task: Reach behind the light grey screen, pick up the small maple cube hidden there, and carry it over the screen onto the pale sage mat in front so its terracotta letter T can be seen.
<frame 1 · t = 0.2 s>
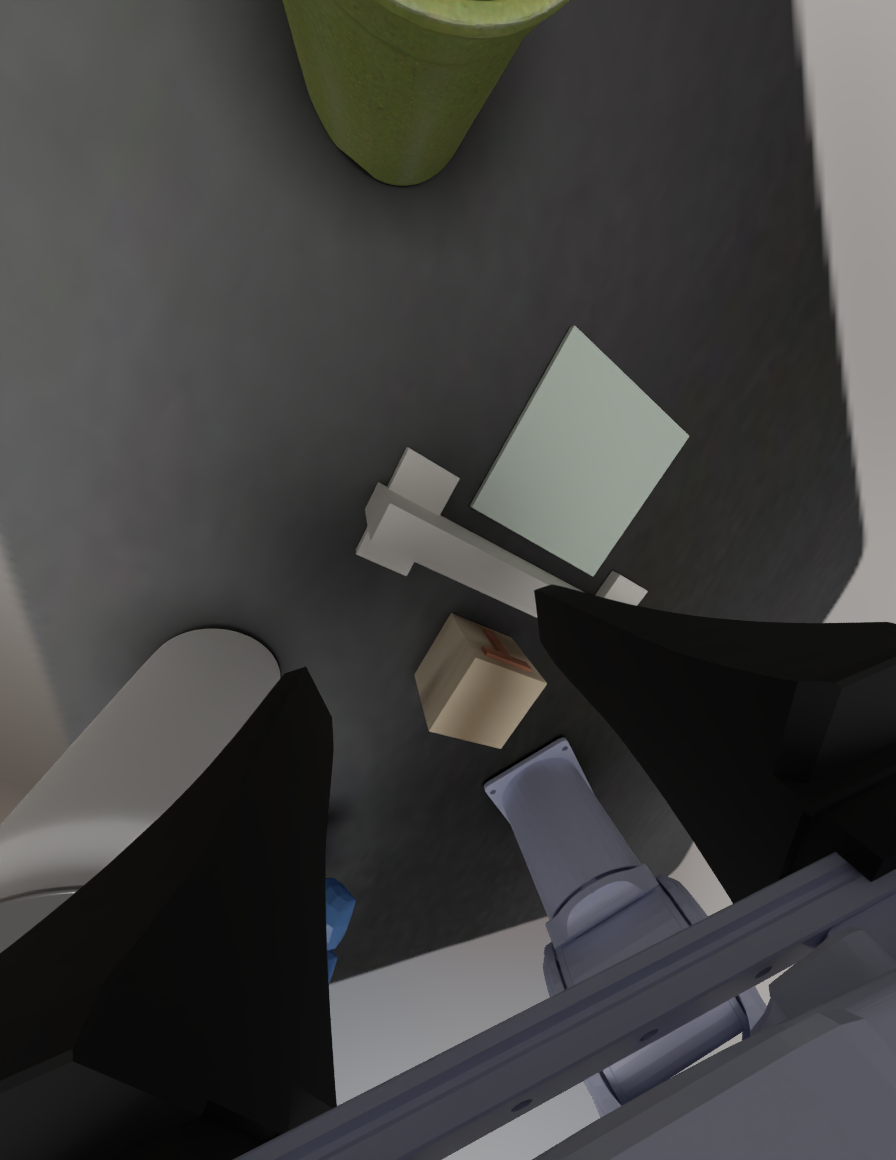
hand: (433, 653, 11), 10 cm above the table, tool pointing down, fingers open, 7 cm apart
can: (221, 671, 20), on the table
plant pot: (387, 77, 13), on the table
maple cube: (463, 655, 24), on the table
grapes: (310, 821, 26), on the table
sage mat: (581, 469, 20), on the table
grey screen: (517, 570, 22), on the table
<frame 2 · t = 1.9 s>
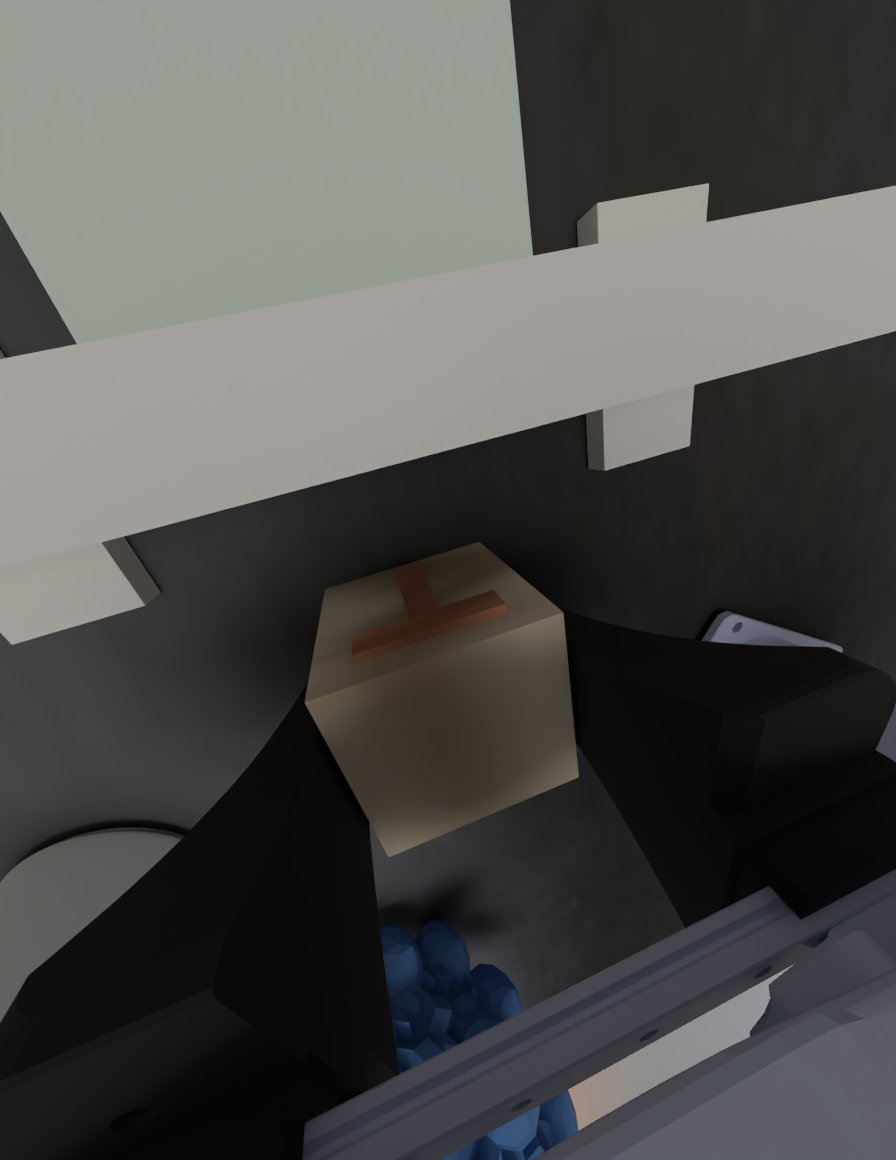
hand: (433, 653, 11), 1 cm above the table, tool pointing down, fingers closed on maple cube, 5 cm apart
can: (127, 874, 13), on the table
maple cube: (424, 629, 12), on the table, touching gripper
grapes: (439, 905, 19), on the table
grey screen: (359, 415, 9), on the table
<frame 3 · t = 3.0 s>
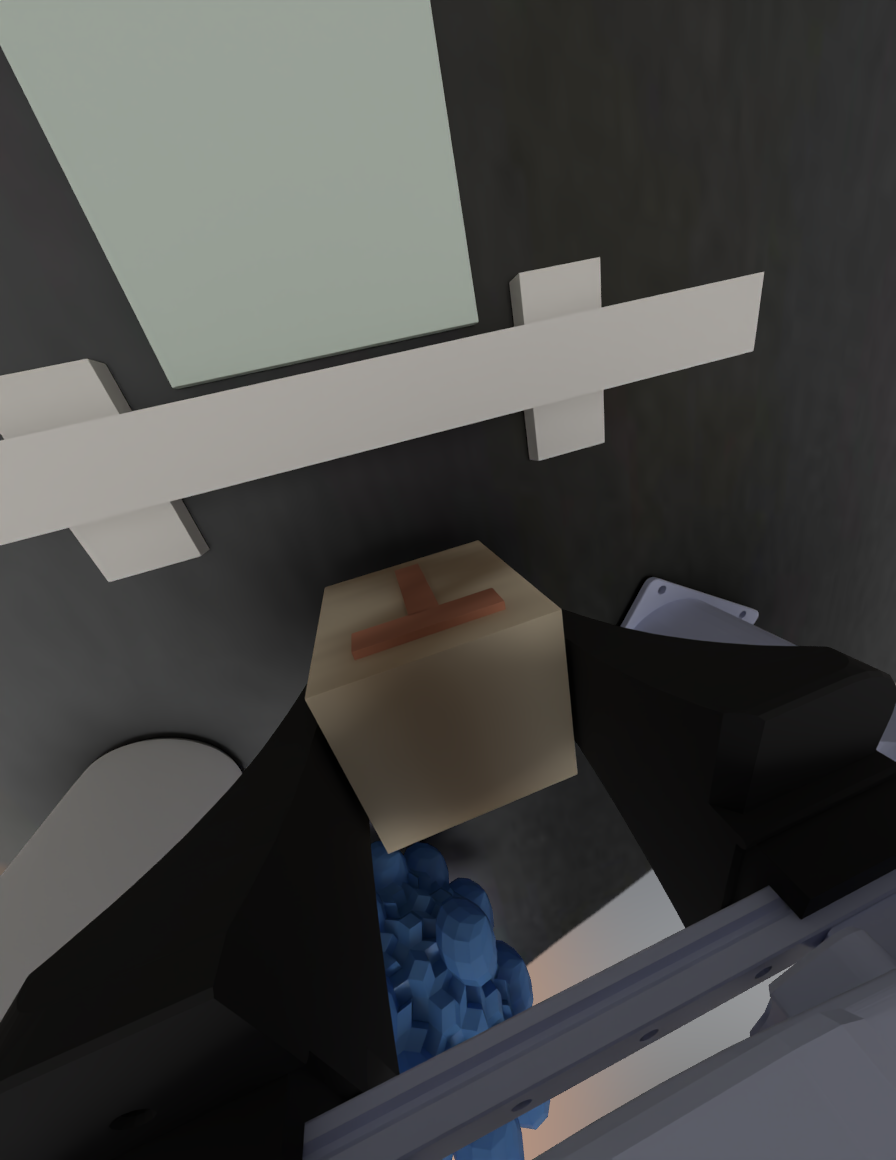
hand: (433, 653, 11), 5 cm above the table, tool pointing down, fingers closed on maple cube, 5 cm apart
can: (172, 781, 16), on the table
maple cube: (423, 628, 12), point 4 cm above the table, touching gripper
grapes: (423, 831, 22), on the table
sage mat: (269, 143, 9), on the table
grey screen: (354, 420, 12), on the table
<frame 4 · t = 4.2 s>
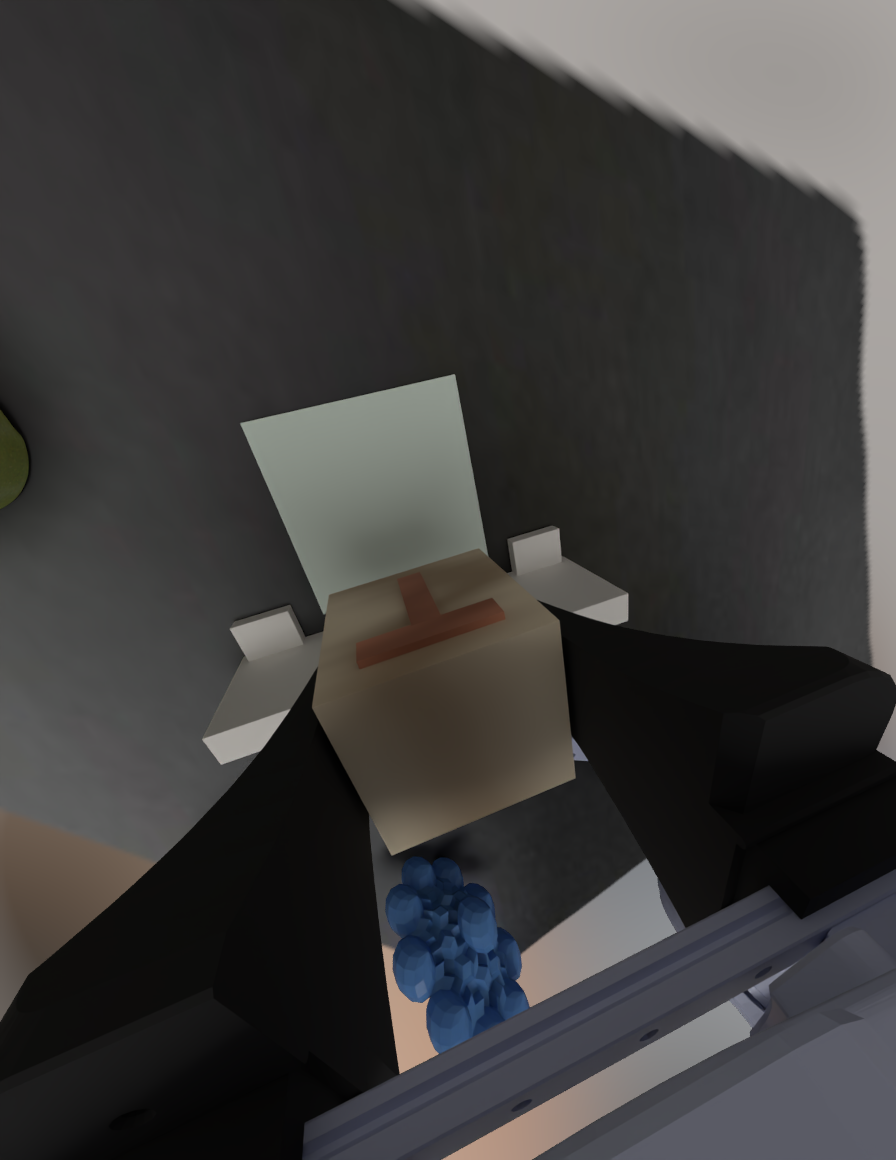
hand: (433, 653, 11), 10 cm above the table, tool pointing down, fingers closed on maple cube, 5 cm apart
maple cube: (425, 634, 12), point 8 cm above the table, touching gripper
grapes: (445, 849, 31), on the table
sage mat: (383, 502, 18), on the table
grey screen: (416, 613, 21), on the table
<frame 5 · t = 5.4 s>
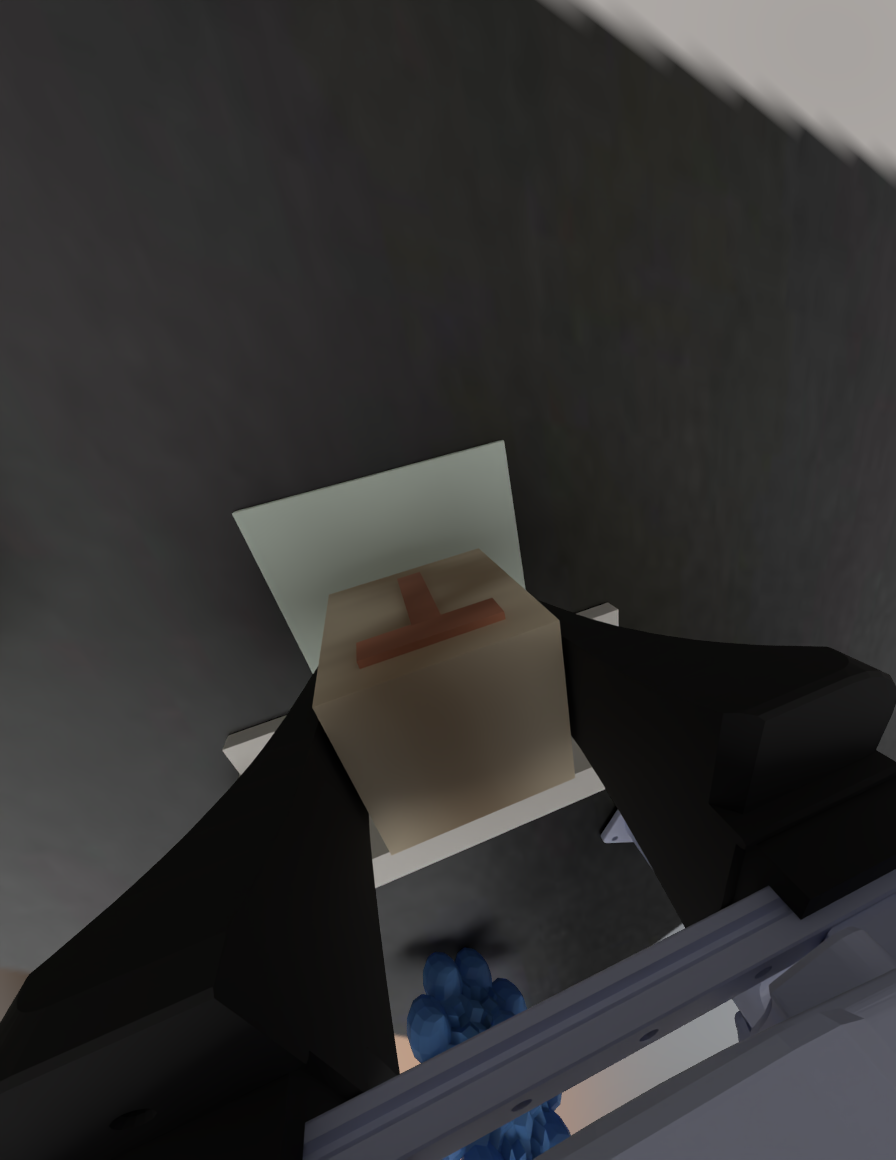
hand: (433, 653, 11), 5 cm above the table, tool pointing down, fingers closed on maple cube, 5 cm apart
maple cube: (425, 634, 12), point 3 cm above the table, touching gripper
grapes: (469, 938, 28), on the table
sage mat: (410, 591, 15), on the table
grey screen: (446, 709, 18), on the table
when the fingers open (3 cm above the table, at t = 6.3 s): maple cube stays where it is, resting on sage mat.
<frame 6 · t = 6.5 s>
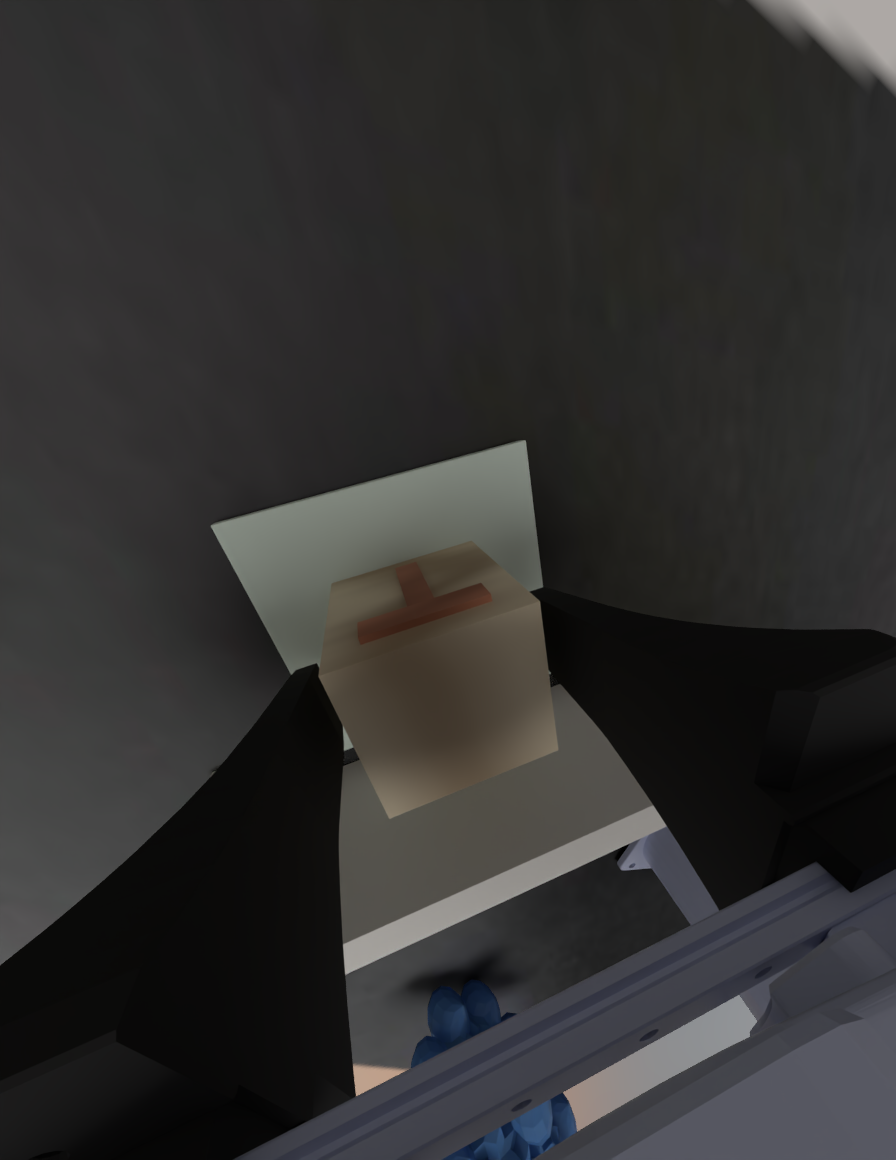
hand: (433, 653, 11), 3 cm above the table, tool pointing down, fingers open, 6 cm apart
maple cube: (421, 621, 13), resting on sage mat
grapes: (476, 969, 26), on the table
sage mat: (417, 610, 13), on the table
grey screen: (455, 736, 16), on the table
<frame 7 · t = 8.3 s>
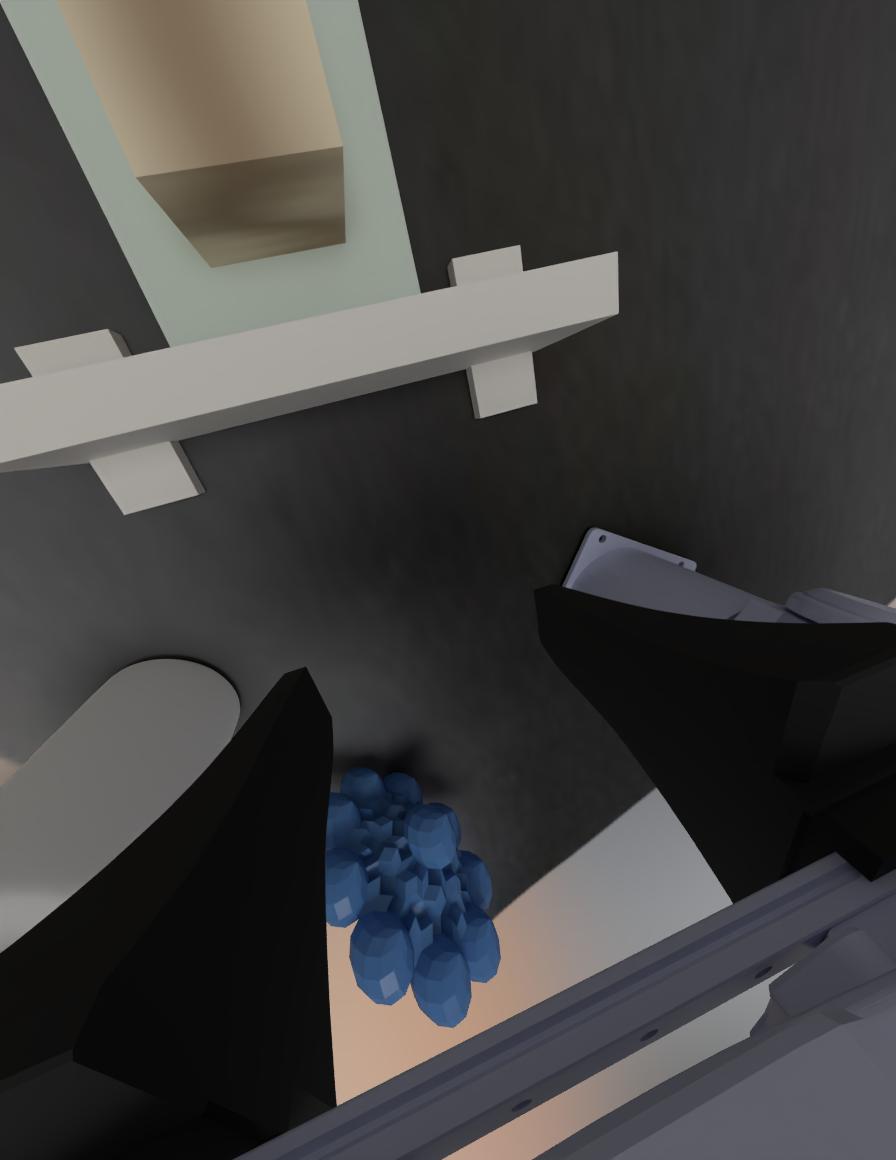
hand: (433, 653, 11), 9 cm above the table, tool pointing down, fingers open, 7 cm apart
can: (177, 701, 19), on the table
maple cube: (248, 162, 12), resting on sage mat
grapes: (401, 763, 25), on the table
sage mat: (246, 158, 12), on the table
grey screen: (323, 382, 15), on the table
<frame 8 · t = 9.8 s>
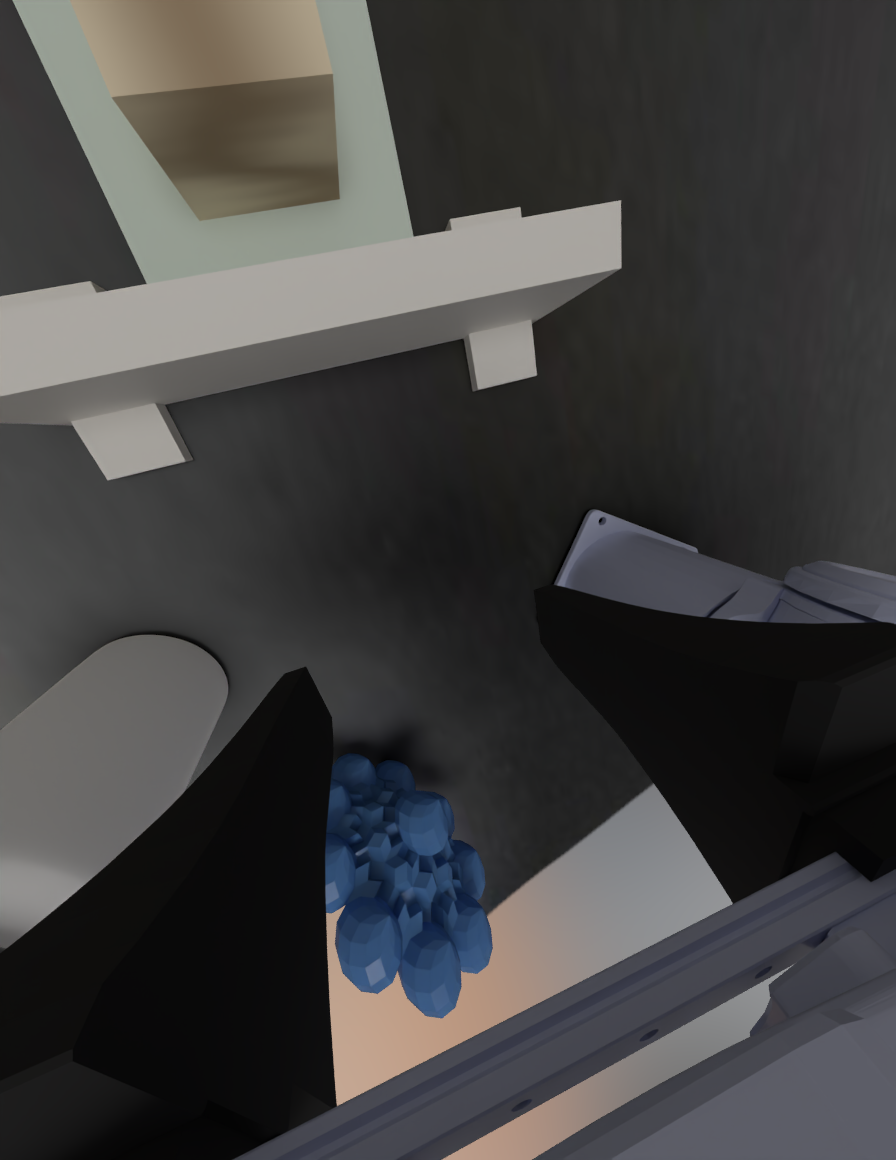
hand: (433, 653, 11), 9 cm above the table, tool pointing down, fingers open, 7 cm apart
can: (164, 680, 19), on the table
maple cube: (238, 109, 11), resting on sage mat
grapes: (394, 751, 25), on the table
sage mat: (237, 106, 12), on the table
grey screen: (315, 348, 15), on the table
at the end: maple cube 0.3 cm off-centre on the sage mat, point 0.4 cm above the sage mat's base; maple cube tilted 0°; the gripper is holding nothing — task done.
